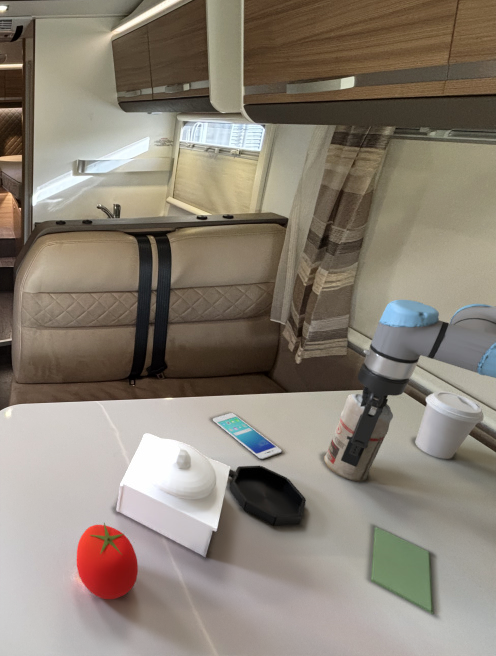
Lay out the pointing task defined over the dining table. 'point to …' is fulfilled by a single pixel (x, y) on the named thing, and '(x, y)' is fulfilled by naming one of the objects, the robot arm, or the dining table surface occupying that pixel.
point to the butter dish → (174, 491)
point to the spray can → (347, 429)
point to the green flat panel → (402, 569)
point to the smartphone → (247, 436)
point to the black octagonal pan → (267, 495)
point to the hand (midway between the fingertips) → (350, 451)
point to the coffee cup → (447, 423)
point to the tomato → (106, 562)
